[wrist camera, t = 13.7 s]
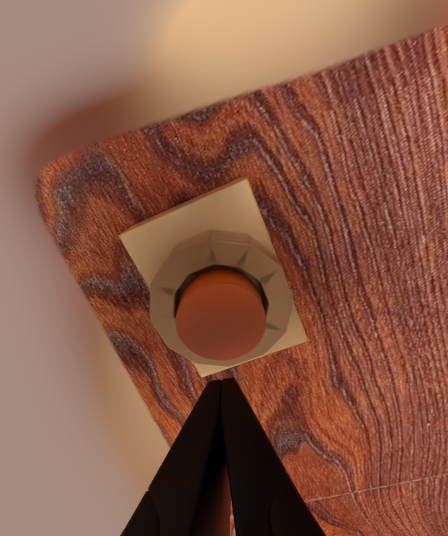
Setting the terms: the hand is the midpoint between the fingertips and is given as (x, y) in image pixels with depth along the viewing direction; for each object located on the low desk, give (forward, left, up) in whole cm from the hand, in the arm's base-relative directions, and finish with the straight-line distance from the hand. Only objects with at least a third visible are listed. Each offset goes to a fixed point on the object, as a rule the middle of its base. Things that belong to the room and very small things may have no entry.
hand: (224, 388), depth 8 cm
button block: (0, 0, -9) cm, 9 cm away
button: (0, 0, -5) cm, 5 cm away
